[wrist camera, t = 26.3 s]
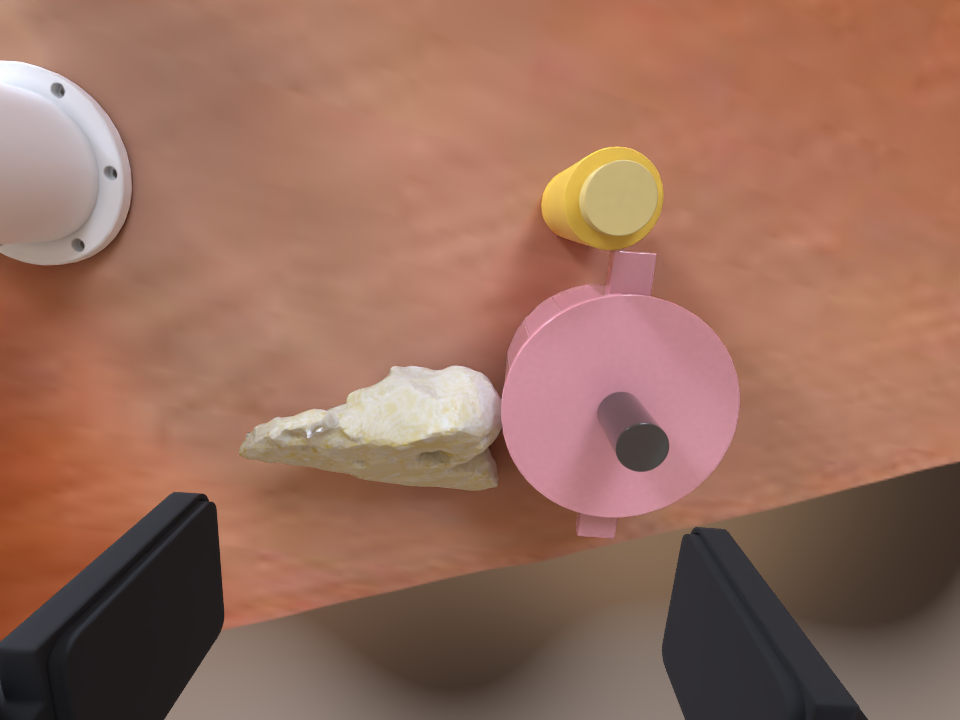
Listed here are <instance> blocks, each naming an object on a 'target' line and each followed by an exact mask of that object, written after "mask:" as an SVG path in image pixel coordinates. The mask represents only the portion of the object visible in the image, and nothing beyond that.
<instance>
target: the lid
mask: <svg viewBox="0 0 960 720" xmlns="http://www.w3.org/2000/svg"><path fill="white" fill-rule="evenodd" d="M739 408H740V390H739V383H738V377H737V373H736V370H735V367H734V364H733V361H732V359H731V357H730V355H729V353H728V350H727V349H726V347H725V346H724V344H723V343H722V341H721V340H720V338H719V337H718V335H717V334H716V333H715V332H714V331H713V330H712V329H711V328H710V327H709V326H708V325H707V324H706V323H705V322H704V321H702V320H701V319H700V318H699V317H698V316H696V315H695V314H693V313H691V312H690V311H688V310H686V309H685V308H683V307H681V306H679V305H677V304H674V303H672V302H670V301H667V300H664V299H661V298H657V297H653V296H649V295H642V294H634V293H617V294H610V295H602V296H598V297H594V298H590V299H586V300H584V301H581V302H579V303H576V304H574V305H571V306H569V307H567V308H566V309H564V310H562V311H560V312H558V313H557V314H555V315H554V316H552V317H551V318H550V319H548V320H547V321H546V322H544V323H543V324H542V325H541V326H540V327H539V328H538V329H537V330H536V331H534V332H533V333H532V334H531V336H530V337H529V338H528V339H527V341H526V342H525V343H524V344H523V345H522V347H521V348H520V350H519V352H518V353H517V355H516V356H515V358H514V360H513V362H512V364H511V367H510V369H509V371H508V373H507V377H506V380H505V383H504V387H503V393H502V400H501V422H502V429H503V435H504V439H505V442H506V446H507V448H508V451H509V453H510V455H511V458H512V460H513V462H514V463H515V465H516V466H517V468H518V470H519V471H520V473H521V474H522V475H523V476H524V477H525V479H526V480H527V481H528V482H529V483H530V484H531V485H532V486H533V487H534V488H535V489H536V490H537V491H538V492H540V493H541V494H542V495H544V496H545V497H547V498H548V499H549V500H551V501H553V502H555V503H556V504H558V505H560V506H562V507H564V508H567V509H569V510H572V511H575V512H578V513H582V514H586V515H590V516H597V517H605V518H621V517H630V516H637V515H641V514H646V513H650V512H653V511H656V510H659V509H661V508H664V507H666V506H668V505H670V504H672V503H674V502H676V501H678V500H680V499H681V498H683V497H684V496H686V495H688V494H689V493H690V492H692V491H693V490H694V489H695V488H697V487H698V486H699V485H700V484H702V483H703V481H704V480H705V479H706V478H707V477H708V476H709V475H710V474H711V473H712V472H713V471H714V469H715V468H716V467H717V466H718V464H719V463H720V462H721V460H722V458H723V457H724V455H725V453H726V451H727V450H728V448H729V445H730V443H731V441H732V438H733V436H734V433H735V429H736V426H737V422H738V416H739Z"/></svg>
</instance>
